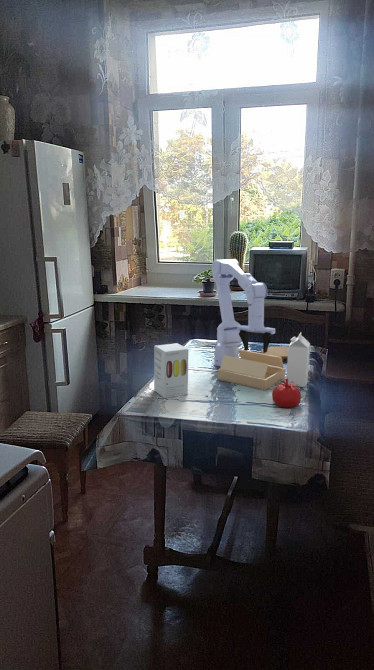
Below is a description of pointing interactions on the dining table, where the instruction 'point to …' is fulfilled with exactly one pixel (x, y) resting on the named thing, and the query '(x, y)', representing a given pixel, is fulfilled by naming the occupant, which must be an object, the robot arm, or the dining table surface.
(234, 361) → the front flap
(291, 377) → the milk carton
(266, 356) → the back flap
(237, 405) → the dining table surface
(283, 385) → the pomegranate
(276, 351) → the wood log slice
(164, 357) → the supplement box
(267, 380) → the carton
